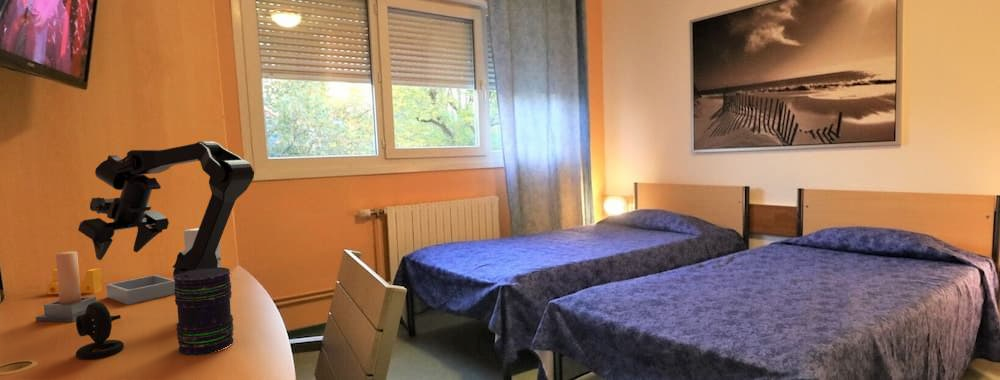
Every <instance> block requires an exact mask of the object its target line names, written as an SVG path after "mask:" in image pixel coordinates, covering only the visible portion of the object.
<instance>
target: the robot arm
mask: <svg viewBox="0 0 1000 380" xmlns="http://www.w3.org/2000/svg"><path fill="white" fill-rule="evenodd" d="M198 161H199V162H200V166H201V169H202V171H203V172H204V173H205V174H207V175H208V176H209V179H208V186H209V189H210V193H211V196H210V199H209V201H208V204H207V207H206V209H205V210H204V211H205V212H204V214H203V217H202V219H201V223H200V225H199V227H198V228H199V230H198V233H197V235H196V238H195V241H194V243H193V246H192V248H191V249H190V250H187V251H185V250H183V251H180V252H178V253H177V255H176V260H175V262H174V264H173V266H172V268H173V273H172V275H173V276H172V277H173V278H174V276H175V275H176V274H178V273H180V272H184V271H188V270H193V269H199V268H211V267H217V266H218V260H217V257H216V254H215V252H216V249H217V247H218V244H219V242H220V243H221V239H222V236H223V233H224V231H225V229H226V226H227V223H228V221H229V218H230V215H231V213H232V210H233V208H234V205H235V203H236V201H237V200H238V199H239V198H240V197H241V196H242V195H243V194H244V193H245V192H246V191H247V190H248V188H249V186H250V185H251V183H252V182H253V180H254V177H255V171H254V169H253V166H252V165H251V163H250V162H249V161H247V160H245V159H243V158H242V157H241V156H239V155H238V154H235V153H234V152H232V151H230V150H227V149H226V148H224V147H223V146H222V145H221V144H220V143H218V142H216V141H197V142H196V143H190V144H185V145H181V146H175V147H170V148H165V149H131V150H129V151H127V153H126V156H124V157H123V158H121V157H120V156H118V155H115V154H114V155H112V154H111V155H107V159H105V160H103V161H102V162H100V164H98V166H97V167H96V168H95V171H94V172H95V173H94V174H95V176H96V178H98V180H101V182H104V183H105V184H107V185H108V186H110V187H111V188H113V189H115V190H117V191H118V190H119V191H120V192H121V193H120V195H119V196H120V197H115V198H104V197H99V196H98V197H92V198H91V201H90V203H89V210H90V211H91V212H96V214H105V215H106V218H108V219H110V220H113V221H111V222H106V221H105V220H103V219H102V218H100V217H97V218H91V219H85V220H81V221H80V222H79V225H78V228H77V229H78V230H77V231H78V232H80V233H82V234H83V235H85V236H86V237H87V238H89V239H91V241H92V244H93V247H94V251H95V258H96V260H98V261H101V260H103V258H104V257H105V255H106V254H107V252H108V249H109V248H110V246H111V245H112V242H113V241H114V239H112V238H113V237H114V235H115V232H116V231H122V230H127V229H128V230H129V229H133V228H136V227H137V231H136V237H135V240H134V244H133V248H132V249H133V252H135V253H139V251H141V249H143V248H144V247H145V246H146V245H147V244H148V243H149V242H150V241H152V240H153V239H154V238H155V237H157V235H158V234H161V233H162V232H163V230H167V229H168V227H169V223H170V221H169V219H168V217H167V216H165V215H164V214H161V213H160V212H158V211H157V210H151V209H152V206H151V205H150V204H148V203H149V200H150V199H151V198H150V197H151V194H152V191H153V190H160V189H161V188H162V186H161V184H160V183H159V182H158V180H157V178H156V177H149V176H148V175H155V174H160V173H164V172H165V171H168V170H169V169H170V168H171V167H173V166H177V165H183V164H188V163H194V162H198Z"/></svg>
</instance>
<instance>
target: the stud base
mask: <svg viewBox="0 0 1000 380" xmlns="http://www.w3.org/2000/svg"><path fill="white" fill-rule="evenodd" d="M81 300H82V301H79V302H77V303H74V304H60V302H59V299H58V300H54V301H51V302H49V303H46V304H43V311H44V313H43V314H40V315H37V316H35V322H55V323H57V322H58V323H60V322H61V323H73V322H76V318H77V316H79V315H84V314H85V312H86V308H87V306H88V305H90V304H92V303H94V302H97V297H96V296H81Z"/></svg>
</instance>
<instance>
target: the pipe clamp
mask: <svg viewBox="0 0 1000 380" xmlns="http://www.w3.org/2000/svg"><path fill="white" fill-rule="evenodd" d="M101 272H102V270H101V268H91V269H86V270H85V275H84V279H83V280H82V281H80V291H81V294H96V293H99V292H102V291H103V288H102V287H103V286H102V273H101ZM51 273H52V274H51V275H52V281H50V282H47V283H46V288H47V295H52V294H59V290H58V278H57V268H55V269H51Z"/></svg>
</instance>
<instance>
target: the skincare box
mask: <svg viewBox="0 0 1000 380" xmlns="http://www.w3.org/2000/svg"><path fill="white" fill-rule="evenodd" d="M198 230H199V227H197V228H190V229H185V230H183V241H184V242H183V243H184V251H187V250H190V249H191V248H192V246H193V243H194V241H195V238H196V235H197V233H198ZM215 254H216V257H217V260H218V266H217V267H221V268H222V257H221V241H220V242H219V244H218V247H217V249H216V252H215Z"/></svg>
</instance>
